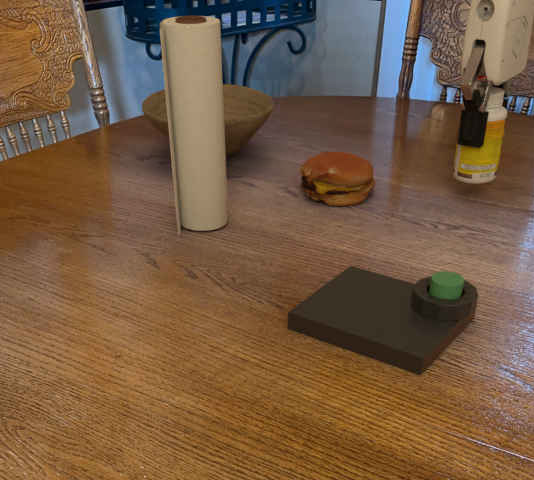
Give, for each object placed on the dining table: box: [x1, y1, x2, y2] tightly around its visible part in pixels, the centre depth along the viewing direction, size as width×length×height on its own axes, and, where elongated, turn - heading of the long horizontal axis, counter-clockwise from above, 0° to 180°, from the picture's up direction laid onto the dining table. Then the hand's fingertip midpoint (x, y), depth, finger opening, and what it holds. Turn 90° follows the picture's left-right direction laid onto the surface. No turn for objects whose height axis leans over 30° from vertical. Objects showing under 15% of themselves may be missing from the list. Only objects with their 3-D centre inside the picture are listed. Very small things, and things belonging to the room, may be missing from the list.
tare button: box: [429, 270, 465, 299], centre depth 65 cm, size 3×3×2 cm
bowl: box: [141, 83, 275, 158], centre depth 102 cm, size 18×18×8 cm
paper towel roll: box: [159, 15, 229, 236], centre depth 79 cm, size 7×6×21 cm
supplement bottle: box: [452, 87, 508, 185], centre depth 87 cm, size 6×6×10 cm
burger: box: [299, 150, 376, 207], centre depth 92 cm, size 10×9×5 cm
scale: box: [287, 265, 479, 376], centre depth 67 cm, size 14×12×4 cm
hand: (480, 137), depth 87 cm, fingers closed on supplement bottle, 5 cm apart
